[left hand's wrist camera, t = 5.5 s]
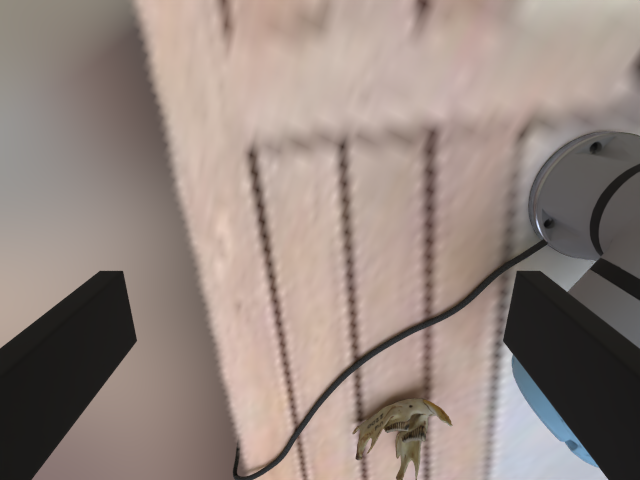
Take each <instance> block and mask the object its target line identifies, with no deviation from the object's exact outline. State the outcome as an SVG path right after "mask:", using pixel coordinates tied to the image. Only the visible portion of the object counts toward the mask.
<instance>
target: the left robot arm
mask: <svg viewBox="0 0 640 480" xmlns="http://www.w3.org/2000/svg"><path fill="white" fill-rule="evenodd" d="M529 216H530V221H531V224H532V226H533V228H534V231H535V232H536V234H537V235H538V236H539V238H540V239H541V240H542V241H540V242H539V243H537V244H536V245H534V246H533V247H531V248H530V249H528V250H526V251H525V252H523V253H522V254H520V255H519V256H517V257H515V258H514V259H512V260H510V261H509V262H507V263H506V264H504V265H503V266H501V267H500V268H498V269H497V270H496V271H495V272H493V273H492V274H491V275H490V276H489V277H488V278H487V279H485V280H484V281H483V282H482V283H481V284H480V285H479V286H478V287H477V288H476V289H475V290H474V291H473V292H472V293H471V294H470V295H469V296H468V297H467V298H466V299H464V300H463V301H462V302H461V303H459V304H458V305H456V306H455V307H453V308H452V309H450V310H449V311H447V312H445V313H443V314H441V315H439V316H437V317H435V318H433V319H431V320H428V321H426V322H424V323H421V324H419V325H417V326H415V327H412V328H410V329H408V330H406V331H405V332H403V333H401V334H399V335H397V336H396V337H394V338H392V339H390V340H389V341H387V342H385V343H384V344H382V345H380V346H379V347H377V348H376V349H374V350H373V351H371V352H370V353H368V354H367V355H365V356H364V357H363V358H361V359H360V360H359V361H357V362H356V363H355V364H354V365H353V366H351V367H350V368H349V369H348V370H347V371H346V372H344V373H343V374H342V375H341V376H340V377H339V378H338V379H337V380H336V381H335V382H334V383H333V384H332V385H331V386H330V388H329V389H328V390H327V391H326V392H325V393H324V394H323V395H322V397H321V398H320V399H319V400H318V401H317V403H316V404H315V405H314V406H313V408H312V409H311V410H310V412H309V413H308V415H307V416H306V418H305V419H304V420H303V422H302V423H301V425H300V426H299V427H298V429H297V430H296V432H295V433H294V434H293V436H292V437H291V439H290V441H289V442H288V444H287V446H286V448H285V449H284V451H283V452H282V453H281V454H280V456H279V457H278V458H277V459H276V460H274V461H273V462H272V463H270V464H269V465H268V466H266V467H265V468H263V469H262V470H260V471H258V472H256V473H254V474H252V475H250V476H246V477H241V476H238V474H237V469H238V463H239V457H240V448H241V441H240V439H239V435H238V441H237V447H236V456H235V462H234V467H233V477H234V479H235V480H253V479H255V478H257V477H259V476H261V475H263V474H264V473H266V472H267V471H269V470H270V469H272V468H273V467H274V466H276V465H277V464H278V463H279V462H280V461H281V460H282V459H283V458H284V457H285V456H286V455H287V453H288V452H289V450H290V448H291V447H292V445H293V443H294V442H295V440H296V439H297V437H298V436H299V434H300V433H301V432H302V430H303V429H304V428H305V426H306V425H307V423H308V422H309V421H310V419H311V418H312V416H313V415H314V413H315V412H316V411H317V410H318V408H319V407H320V406H321V404H322V403H323V402H324V401H325V400H326V399H327V398H328V396H329V395H330V394H331V393H332V392H333V391H334V390H335V389H336V388H337V387H338V386H339V385H340V384H341V383H342V382H343V381H344V380H345V379H346V378H347V377H348V376H349V375H350V374H351V373H352V372H354V371H355V370H356V369H357V368H359V367H360V366H361V365H362V364H364V363H365V362H366V361H368V360H369V359H370V358H372V357H373V356H375V355H376V354H378V353H379V352H381V351H383V350H384V349H386V348H388V347H389V346H391V345H393V344H394V343H396V342H398V341H400V340H402V339H403V338H405V337H407V336H409V335H411V334H413V333H415V332H417V331H419V330H421V329H424V328H426V327H428V326H431V325H433V324H435V323H438V322H440V321H442V320H444V319H446V318H448V317H450V316H451V315H453V314H455V313H456V312H458V311H459V310H461V309H462V308H463V307H465V306H466V305H467V304H469V303H470V302H471V301H472V300H473V299H474V298H475V297H476V296H478V295H479V294H480V293H481V292H482V291H483V290H484V289H485V288H486V287H487V286H488V285H489V284H490V283H491V282H492V281H493V280H494V279H495V278H497V277H498V276H499V275H500V274H502V273H503V272H504V271H506V270H507V269H509V268H510V267H512V266H514V265H515V264H517V263H519V262H520V261H522V260H524V259H525V258H527V257H528V256H530V255H532V254H533V253H535V252H536V251H538V250H539V249H541V248H542V247H544V246H545V245H549V246H550V247H552V248H553V249H555V250H556V251H558V252H560V253H562V254H564V255H567V256H570V257H574V258H581V259H588V260H595V261H596V263H595V264H594V265H593V266H592V267H591V268H590V269H589V270H588V271H587V272H586V273H585V274H584V275H583V276H582V277H581V278H580V279H579V281H578V282H577V283H576V284H575V285H574V286H573V287H572V288H571V289H570V290H569V291H568V292H566V291H565V290H564V289H563V288H561V287H560V286H559V285H557V284H556V283H555V282H554V281H552V280H551V279H550V278H548V277H547V276H546V275H545V274H543V273H542V272H541V271H517V274H516V279H515V284H514V289H513V294H512V299H511V304H510V309H509V314H508V319H507V324H506V329H505V334H504V339H503V341H504V343H505V344H506V345H507V347H508V348H509V349H510V351H511V352H512V353H513V356H512V368H513V375H514V378H515V380H516V383H517V385H518V387H519V389H520V391H521V393H522V394H523V396H524V398H525V399H526V401H527V402H528V404H529V405H530V407H531V408H532V409H533V411H534V412H535V413H536V415H537V416H538V417H539V418H540V420H541V421H542V422H543V423H544V424H545V426H546V427H547V428H548V429H549V430H550V431H551V432H552V433H553V434H554V436H555V437H556V438H558V439H559V440H560V441H562V442H565V443H566V445H567V446H568V447H569V449H570V450H571V451H572V452H573V453H574V454H575V455H577V456H578V457H579V458H581V459H582V460H583V461H585V462H587V463H589V464H591V465H593V466H595V467H599V468H600V469H601V470H602V472H603V473H604V474H605V476H606V477H607V478H608V480H640V136H638V135H635V134H631V133H622V132H613V131H605V132H597V133H592V134H588V135H585V136H582V137H580V138H578V139H576V140H573V141H572V142H570V143H568V144H567V145H565V146H564V147H562V148H561V149H560V150H558V151H557V152H556V153H555V154H554V155H553V156H552V157H551V158H550V159H549V160H548V161H547V162H546V164H545V165H544V166H543V168H542V169H541V170H540V172H539V174H538V175H537V177H536V179H535V181H534V184H533V186H532V190H531V193H530V198H529ZM598 274H599V275H598ZM136 341H137V339H136V334H135V329H134V324H133V319H132V314H131V309H130V304H129V299H128V294H127V289H126V284H125V279H124V274H123V271H99V272H98V273H97V274H95V275H94V276H93V277H92V278H90V279H89V280H88V281H86V282H85V283H84V284H83V285H81V286H80V287H79V288H77V289H76V290H75V291H74V292H72V293H71V294H70V295H68V296H67V297H66V298H65V299H63V300H62V301H61V302H59V303H58V304H57V305H56V306H54V307H53V308H52V309H50V310H49V311H48V312H47V313H45V314H44V315H43V316H41V317H40V318H39V319H38V320H36V321H35V322H34V323H32V324H31V325H30V326H29V327H27V328H26V329H25V330H23V331H22V332H21V333H20V334H18V335H17V336H16V337H14V338H13V339H12V340H11V341H9V342H8V343H7V344H5V345H4V346H3V347H2V348H0V480H32V478H33V477H34V476H35V474H36V473H37V472H38V470H39V469H40V468H41V467H42V465H43V464H44V463H45V461H46V460H47V459H48V457H49V456H50V455H51V453H52V452H53V451H54V449H55V448H56V447H57V445H58V444H59V443H60V441H61V440H62V439H63V438H64V436H65V435H66V434H67V432H68V431H69V430H70V428H71V427H72V426H73V424H74V423H75V422H76V420H77V419H78V418H79V416H80V415H81V414H82V413H83V411H84V410H85V409H86V407H87V406H88V405H89V403H90V402H91V401H92V399H93V398H94V397H95V395H96V394H97V393H98V391H99V390H100V389H101V388H102V386H103V385H104V384H105V382H106V381H107V380H108V378H109V377H110V376H111V374H112V373H113V372H114V370H115V369H116V368H117V366H118V365H119V364H120V362H121V361H122V360H123V358H124V357H125V356H126V355H127V353H128V352H129V351H130V349H131V348H132V347H133V345H134V344H135V343H136Z"/></svg>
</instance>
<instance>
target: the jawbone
mask: <svg viewBox="0 0 640 480" xmlns="http://www.w3.org/2000/svg"><path fill="white" fill-rule="evenodd" d="M435 415H436V416H438V417H439V418H440V420H441V421H443V422H445V423H447V424H448V425H449V426H453V425H452V424H451V420H450V419H449V416H447V414H446V413H445V412H444V411H443V410H442V409H441V408H440V407H438V406H436V405H435V404H433V403H431V402H429V401H427V400H425V399H418V398H415V399H406V400H402V401H399V402H396V403H394V404H392V405H389V406H386V407H384V408H383V409H382V410H380V411H379V412H378V413H377V414H376V415H374V416H373V417H371V418H369V419H368V420H366V421H365V422H364V423H362V424H361V425H359V426H357V427H356V429H355V430H354V431H353V433H352V434H355V433H356V432H357V430H358V429H360V435H359V441H358V444H357V454H356V459H357V460H361V459H362V455H363V451H364V448H365V446H366V444H367V442H368V441H369V439H370V438H372V443H371V447H370V449H369V451H368V452H367V454H368V453H369V452H370V450H371V449H372V448H373V446H374V445H375V443H376V441H377V439H378V437H379V435H380V433H381V432H382V429H384V430H385V432H387V433H388V432H393V431H400V433H399V434H398V435H397V437H396V457H397V459H398V458H399V456H400V455H401V467H400V470H399V472H398V474H397V477H396V479H397V480H403V477H404V473H405V471H406V468H407V466H408V463H409V462H410V461H411V460H412V461H413V462H414V465H415V476H416V480H417V475H418V470H419V464H420V449H421V441H424V442H425V438H426V433H427V428H428V417H429V416H435Z"/></svg>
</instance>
